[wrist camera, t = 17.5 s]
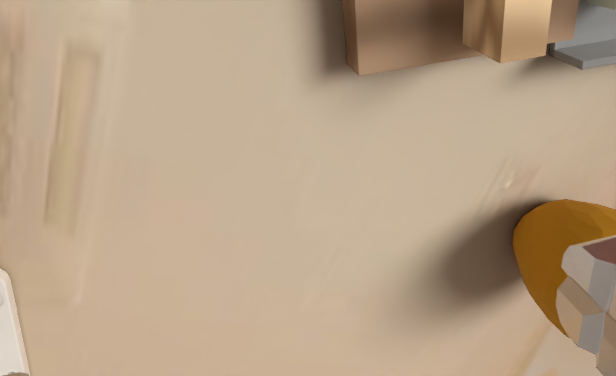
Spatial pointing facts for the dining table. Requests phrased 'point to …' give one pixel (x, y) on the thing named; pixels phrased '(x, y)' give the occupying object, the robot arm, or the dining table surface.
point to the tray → (589, 38)
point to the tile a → (604, 3)
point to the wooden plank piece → (507, 28)
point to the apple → (556, 245)
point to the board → (422, 32)
